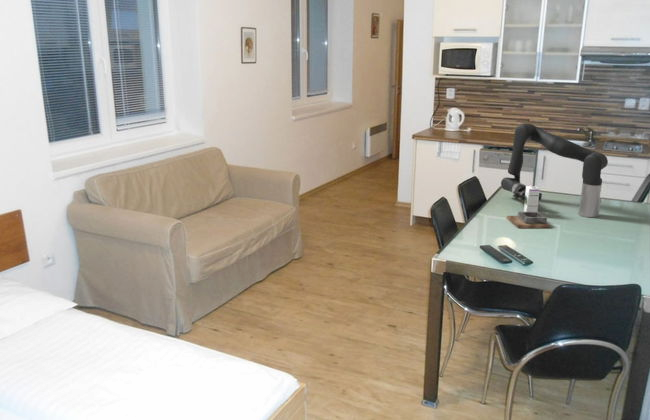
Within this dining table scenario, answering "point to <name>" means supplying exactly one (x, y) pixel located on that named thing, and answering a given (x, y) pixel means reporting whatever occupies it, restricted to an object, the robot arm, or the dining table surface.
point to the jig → (529, 220)
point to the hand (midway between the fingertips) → (532, 198)
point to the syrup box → (531, 199)
